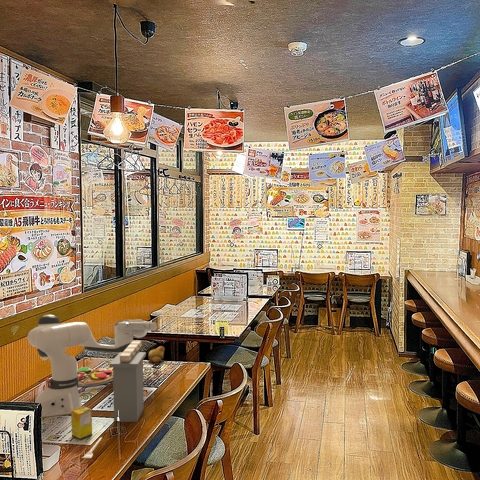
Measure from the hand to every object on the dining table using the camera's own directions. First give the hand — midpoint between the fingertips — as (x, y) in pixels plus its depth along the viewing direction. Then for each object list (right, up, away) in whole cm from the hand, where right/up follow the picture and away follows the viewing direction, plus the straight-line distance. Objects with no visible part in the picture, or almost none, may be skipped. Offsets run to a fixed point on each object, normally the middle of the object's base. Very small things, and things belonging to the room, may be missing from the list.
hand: (136, 324), depth 264 cm
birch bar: (+4, -8, -31) cm, 32 cm away
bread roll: (+2, -30, +48) cm, 56 cm away
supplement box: (-11, -36, -56) cm, 68 cm away
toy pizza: (-28, -32, +15) cm, 45 cm away
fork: (-3, -37, -67) cm, 77 cm away
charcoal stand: (+4, -34, -35) cm, 50 cm away
